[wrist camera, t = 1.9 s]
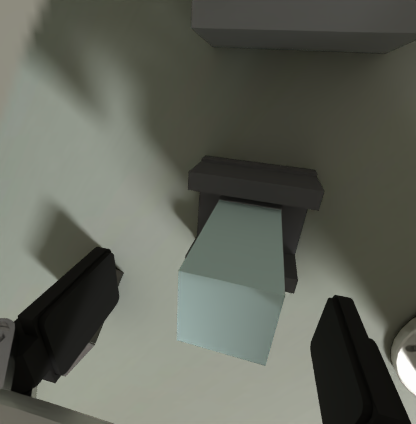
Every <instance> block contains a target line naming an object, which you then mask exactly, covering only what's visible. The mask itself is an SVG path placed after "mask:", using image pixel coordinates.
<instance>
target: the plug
mask: <svg viewBox="0 0 416 424" xmlns="http://www.w3.org/2000/svg"><path fill="white" fill-rule="evenodd" d="M281 212H282V205H280V204H274V203H268V202H262V201H255V200H249V199H243V198H237V197H230V196H224V195H221V196H220V198H219V200H218V203H217V205H216V206H215V208H214V210H213V212H212V213H211V215H210V217H209V219H208V220H207V222H206V224H205V226H204V227H203V229H202V231H201V233H200V234H199V236H198V238H197V239H196V241H195V243H194V245H193V246H192V248H191V250H190V252H189V253H188V255H187V257H186V259H185V260H184V262H183V264H182V266H181V267H180V269H179V273H178V314H177V340H178V341H182V342H185V343H188V344H192V345H195V346H199V347H202V348H206V349H209V350H213V351H216V352H219V353H223V354H226V355H230V356H233V357H237V358H240V359H244V360H247V361H250V362H254V363H257V364H261V365H264V366H266V362H267V358H268V355H269V351H270V348H271V344H272V341H273V337H274V333H275V330H276V326H277V323H278V319H279V315H280V312H281V308H282V305H283V301H284V298H285V281H284V260H283V239H282V217H281Z"/></svg>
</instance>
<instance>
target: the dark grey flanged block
mask: <svg viewBox="0 0 416 424" xmlns="http://www.w3.org/2000/svg"><path fill="white" fill-rule="evenodd" d="M188 190H193V191H199V192H200V197H199V214H198V230H197V237H196V239H197V238H198V236H199V234H200V233H201V231H202V229H203V227H204V226H205V224H206V222H207V220H208V219H209V217H210V215H211V213H212V212H213V210H214V208H215V206H216V205H217V203H218V200H219V198H220V196H221V195H224V196H230V197H237V198H243V199H249V200H255V201H262V202H268V203H274V204H280V205H282V212H281V217H282V239H283V260H284V281H285V292H289V293H294V292H295V288H296V285H297V281H298V277H297V269H296V261H295V253H296V249H297V246H298V242H299V238H300V235H301V231H302V227H303V224H304V220H305V217H306V213H307V209H311V210H318V211H319V208H320V204H321V201H322V198H323V194H324V190H323V188H322V186H321V184H320V182H319V180H318V178H317V172H316V171H315V170H311V169H304V168H296V167H288V166H280V165H273V164H265V163H257V162H250V161H242V160H234V159H227V158H219V157H211V156H204V157H203V158H202V161H201V162H200V163H199V164H198V165H196V166H195V167H194V168H193V169H191V170H190V171H189V177H188ZM196 239H195V240H194V242H193V244H192V246H193V245H194V243H195V241H196ZM192 246H191V247H190V249H189V251H188V252H187V254H186V256H185V259H186V257H187V255H188V253H189V252H190V250H191V248H192Z"/></svg>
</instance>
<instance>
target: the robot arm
mask: <svg viewBox="0 0 416 424" xmlns="http://www.w3.org/2000/svg"><path fill="white" fill-rule="evenodd" d="M118 300H119V291H118V283H117V275H116V267H115V260H114V254H113V253H111V250H110V249H106V248H101V247H96V248H95V249H93V250H92V251H91V252H90V253H89V254H88V255H87V256H85V257H84V258H83V259H82V260H81V261H80V262H79V263H77V264H76V265H75V266H74V267H73V268H72V269H71V270H69V271H68V272H67V273H66V274H65V275H64V276H63V277H61V278H60V279H59V280H58V281H57V282H56V283H55V284H53V285H52V286H51V287H50V288H49V289H48V290H47V291H45V292H44V293H43V294H42V295H41V296H40V297H39V298H38V299H36V300H35V301H34V302H33V303H32V304H31V305H30V306H28V307H27V308H26V309H25V310H24V311H23V312H22V313H20V314H19V315H18V319H16V320H15V321H14V322H13V321H12V320H10V319H8V318H0V424H113V423H110V422H107V421H104V420H101V419H98V418H95V417H92V416H89V415H86V414H83V413H80V412H77V411H74V410H71V409H68V408H65V407H61V406H58V405H55V404H52V403H49V402H46V401H43V400H39V399H36V394H37V385H38V384H39V383H40V382H41V380H42V379H43V380H46V381H50V382H53V383H56V382H57V380H58V379H59V377H60V376H61V375H64V374H66V373H67V372H68V370H69V369H70V368H71V366H72V365H73V363H74V362H75V361H76V359H77V358H78V357H79V355H80V354H81V352H82V351H83V350H84V348H85V347H86V346H87V344H88V343H89V341H90V340H91V339H92V337H93V336H94V335H95V333H96V332H97V331H98V329H99V328H100V326H101V325H102V324H103V322H104V321H105V320H106V318H107V317H108V315H109V314H110V313H111V311H112V310H113V309H114V307H115V306H116V304H117V303H118ZM310 350H311V357H312V363H313V369H314V375H315V381H316V387H317V393H318V399H319V404H320V410H321V416H322V422H323V424H411V422H410V420H409V417H408V415H407V413H406V410H405V408H404V406H403V404H402V401H401V399H400V397H399V394H398V392H397V390H396V388H395V385H394V383H393V381H392V378H391V376H390V374H389V372H388V369H387V367H386V365H385V362H384V360H383V358H382V356H381V353H380V351H379V349H378V346H377V345H376V343H375V341H374V340H372V339H370V338H368V335H367V333H366V330H365V328H364V326H363V323H362V321H361V318H360V316H359V314H358V311H357V309H356V306H355V304H354V302H353V300H352V299H351V298H348V297H343V296H338V295H334V296H333V298H328V300H327V303H326V305H325V308H324V310H323V313H322V315H321V318H320V320H319V323H318V325H317V328H316V330H315V333H314V336H313V338H312V341H311V346H310ZM391 359H392V363H393V366H394V369H395V371H396V373H397V375H398V377H399V379H400V381H401V382H402V383H403V384H404V386H405V387H406V388H407V389H408V390H409V391H410V392H411V393H412V394H414V395H415V396H416V317H415V318H414V319H412V320H411V321H410V322H408V323H407V324H406V325H405V326H404V327H403V328H402V329H401V330H400V332H399V333H398V334H397V336H396V337H395V339H394V342H393V345H392V348H391Z"/></svg>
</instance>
